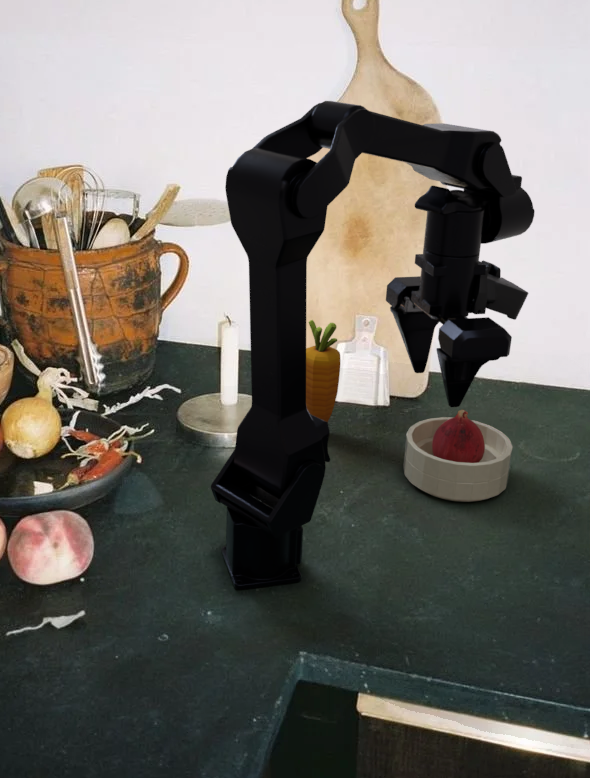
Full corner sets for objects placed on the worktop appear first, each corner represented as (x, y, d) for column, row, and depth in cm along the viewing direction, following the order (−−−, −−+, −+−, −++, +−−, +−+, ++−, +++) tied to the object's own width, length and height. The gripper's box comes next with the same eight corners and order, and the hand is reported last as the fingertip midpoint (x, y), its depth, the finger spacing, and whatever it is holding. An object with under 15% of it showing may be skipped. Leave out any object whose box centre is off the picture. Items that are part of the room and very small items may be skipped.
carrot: (291, 426, 119) (296, 315, 113) (328, 422, 120) (334, 312, 115) (305, 444, 114) (311, 329, 109) (343, 439, 116) (351, 325, 110)
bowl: (428, 510, 101) (432, 469, 99) (388, 459, 111) (391, 421, 109) (525, 499, 103) (531, 459, 101) (477, 450, 114) (482, 413, 112)
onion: (481, 490, 104) (489, 425, 101) (428, 484, 105) (435, 419, 102) (480, 465, 109) (487, 403, 106) (429, 459, 110) (436, 397, 107)
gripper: (570, 273, 90) (547, 420, 95) (481, 226, 107) (466, 353, 112) (463, 278, 87) (445, 428, 93) (390, 228, 104) (378, 358, 110)
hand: (435, 388), depth 102 cm, fingers open, 9 cm apart
